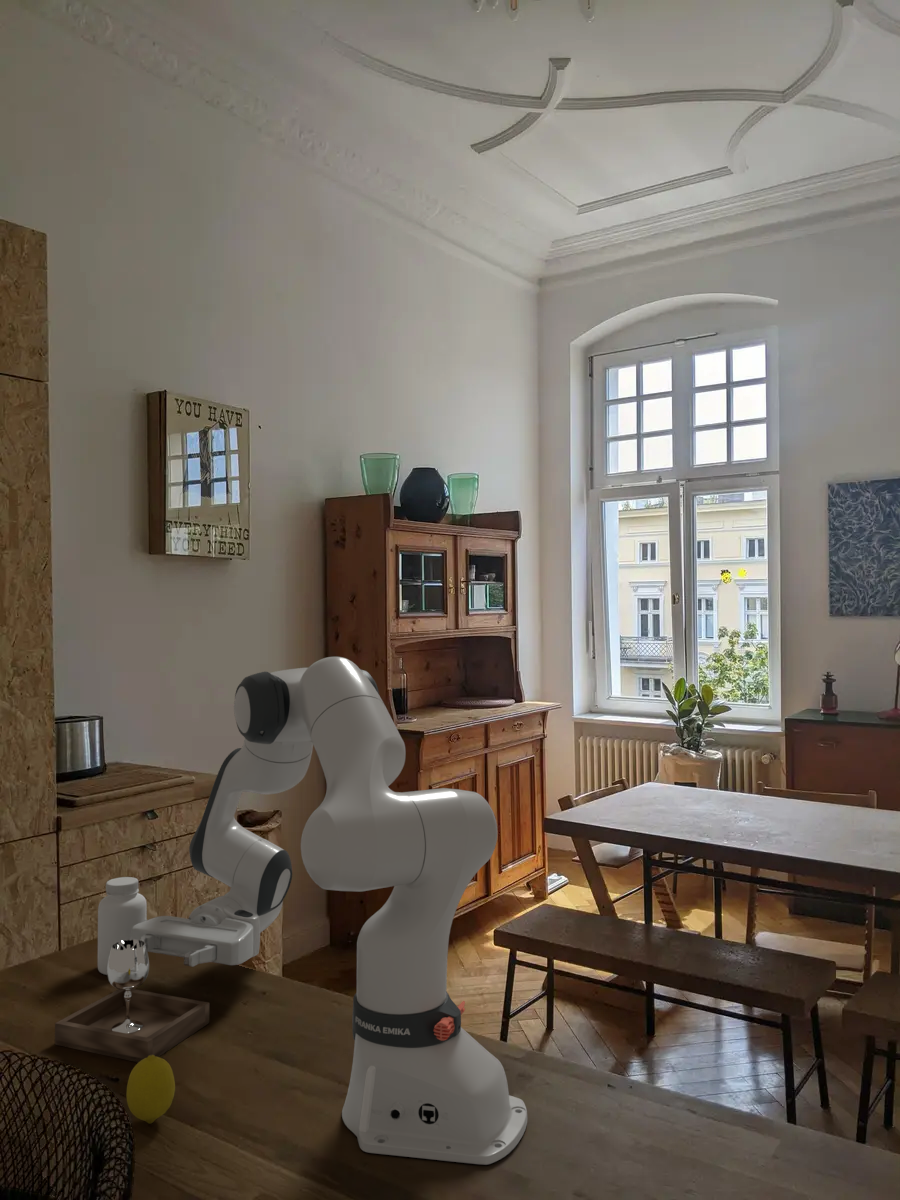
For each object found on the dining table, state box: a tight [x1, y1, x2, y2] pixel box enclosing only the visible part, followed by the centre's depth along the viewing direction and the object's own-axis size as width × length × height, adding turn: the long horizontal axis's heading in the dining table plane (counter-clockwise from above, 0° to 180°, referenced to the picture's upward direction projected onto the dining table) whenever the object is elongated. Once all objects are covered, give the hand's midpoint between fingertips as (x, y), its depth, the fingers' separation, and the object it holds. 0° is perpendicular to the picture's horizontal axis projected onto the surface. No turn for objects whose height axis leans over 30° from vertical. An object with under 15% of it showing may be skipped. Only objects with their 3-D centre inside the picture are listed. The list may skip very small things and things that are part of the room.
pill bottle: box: [97, 876, 148, 976], centre depth 163 cm, size 8×8×15 cm
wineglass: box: [106, 939, 150, 1034], centre depth 138 cm, size 6×6×12 cm
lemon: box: [125, 1055, 176, 1124], centre depth 113 cm, size 6×6×8 cm
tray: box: [54, 988, 210, 1063], centre depth 137 cm, size 16×14×3 cm
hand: (161, 956), depth 143 cm, fingers open, 8 cm apart
